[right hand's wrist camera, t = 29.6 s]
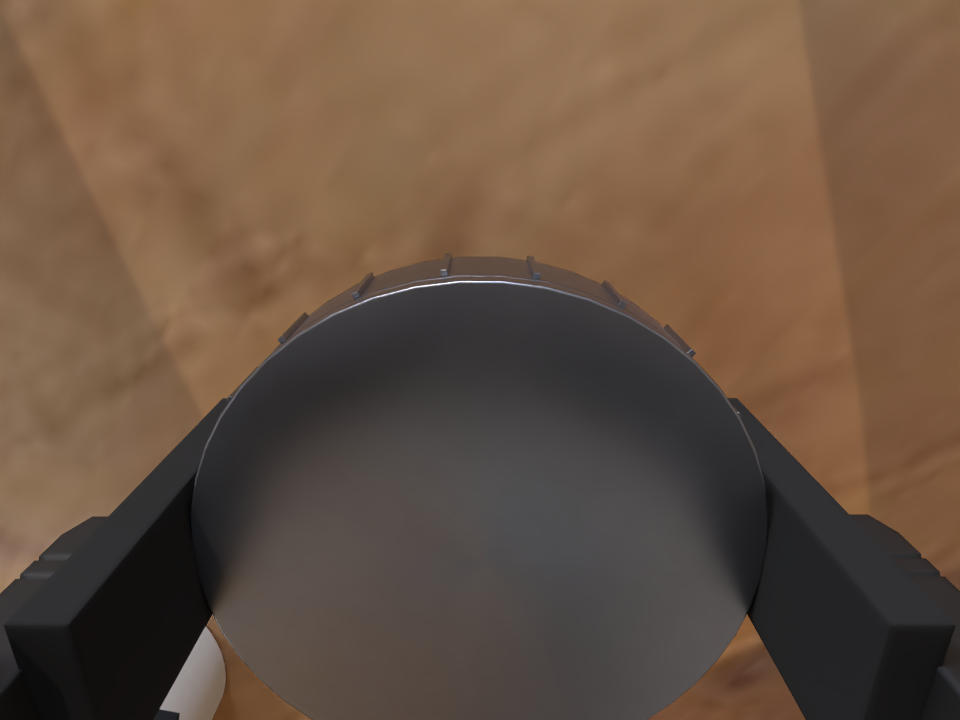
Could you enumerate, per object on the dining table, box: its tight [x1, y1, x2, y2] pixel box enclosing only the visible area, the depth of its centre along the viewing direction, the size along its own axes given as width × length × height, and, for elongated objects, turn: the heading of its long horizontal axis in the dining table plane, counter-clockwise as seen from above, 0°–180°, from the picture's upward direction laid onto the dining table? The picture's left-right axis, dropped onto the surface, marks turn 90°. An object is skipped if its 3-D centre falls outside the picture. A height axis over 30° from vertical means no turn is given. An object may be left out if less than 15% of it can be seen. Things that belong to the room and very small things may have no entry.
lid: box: [191, 253, 768, 720], centre depth 11 cm, size 10×10×2 cm
